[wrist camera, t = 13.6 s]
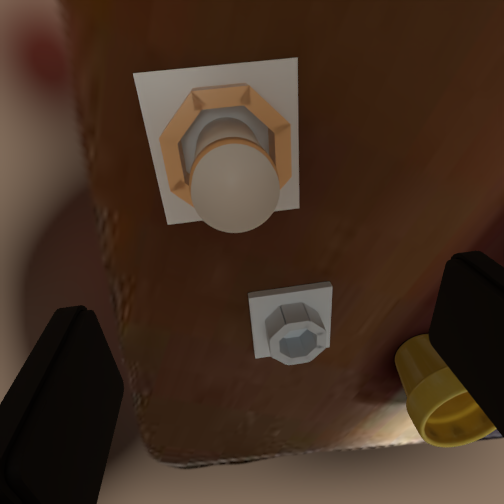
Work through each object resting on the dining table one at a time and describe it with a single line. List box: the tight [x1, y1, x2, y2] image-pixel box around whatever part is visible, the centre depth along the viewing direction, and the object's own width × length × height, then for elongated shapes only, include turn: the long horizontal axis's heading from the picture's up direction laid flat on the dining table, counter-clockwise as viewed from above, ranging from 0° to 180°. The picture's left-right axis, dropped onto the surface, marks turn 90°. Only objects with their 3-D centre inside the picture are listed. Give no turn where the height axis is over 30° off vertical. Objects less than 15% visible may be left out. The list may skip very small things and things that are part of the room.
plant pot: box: [395, 334, 497, 447], centre depth 40 cm, size 10×10×10 cm
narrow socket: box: [248, 281, 332, 365], centre depth 37 cm, size 9×9×4 cm
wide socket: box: [133, 58, 299, 225], centre depth 27 cm, size 12×12×4 cm
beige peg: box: [189, 117, 280, 233], centre depth 23 cm, size 5×5×10 cm
